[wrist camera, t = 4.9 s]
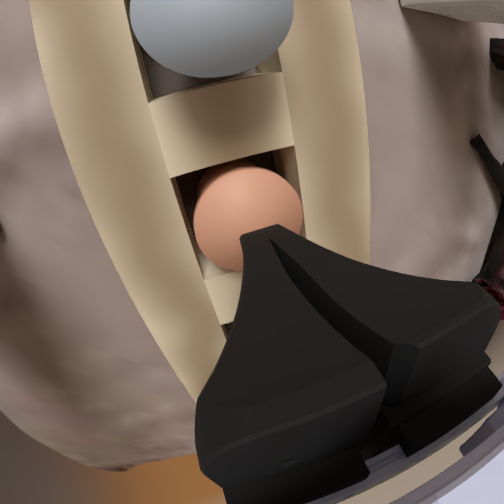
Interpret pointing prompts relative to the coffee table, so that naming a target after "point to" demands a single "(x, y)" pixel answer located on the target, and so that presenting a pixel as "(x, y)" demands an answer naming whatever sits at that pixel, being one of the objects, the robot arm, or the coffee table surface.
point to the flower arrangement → (500, 247)
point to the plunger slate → (211, 33)
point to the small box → (461, 9)
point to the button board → (203, 155)
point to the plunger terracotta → (240, 208)
